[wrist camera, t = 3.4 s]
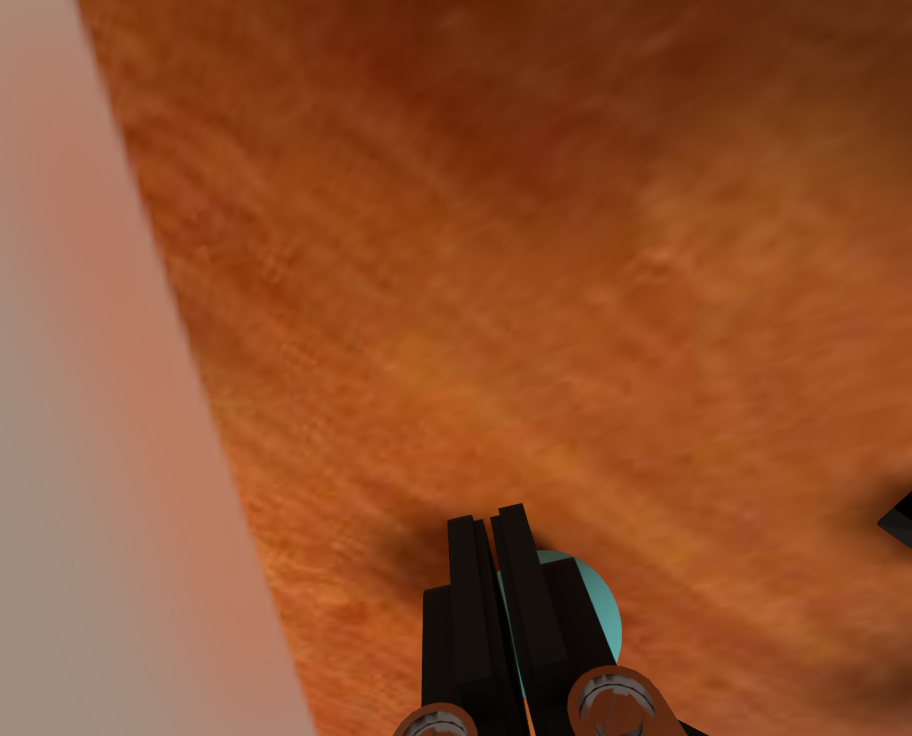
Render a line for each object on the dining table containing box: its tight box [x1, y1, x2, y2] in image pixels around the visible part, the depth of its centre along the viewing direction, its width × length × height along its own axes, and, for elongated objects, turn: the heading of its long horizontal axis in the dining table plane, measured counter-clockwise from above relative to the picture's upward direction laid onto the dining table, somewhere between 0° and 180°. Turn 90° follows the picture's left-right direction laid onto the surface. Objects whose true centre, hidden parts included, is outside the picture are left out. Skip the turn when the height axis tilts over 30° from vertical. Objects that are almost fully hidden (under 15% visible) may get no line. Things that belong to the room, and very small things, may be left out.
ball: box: [497, 550, 622, 698], centre depth 21 cm, size 6×6×6 cm
